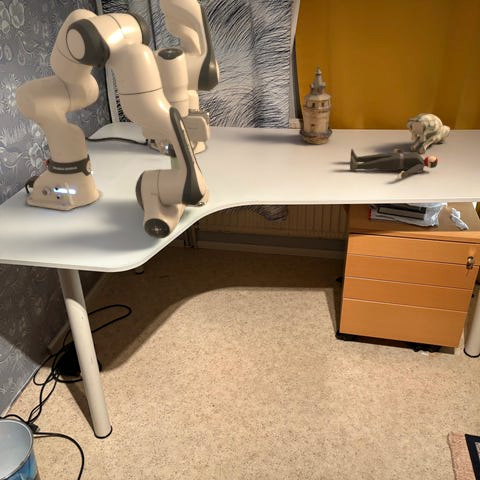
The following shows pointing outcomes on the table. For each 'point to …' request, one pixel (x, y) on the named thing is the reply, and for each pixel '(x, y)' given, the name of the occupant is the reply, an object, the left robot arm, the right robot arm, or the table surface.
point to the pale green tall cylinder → (174, 163)
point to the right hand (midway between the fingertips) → (177, 153)
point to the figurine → (427, 131)
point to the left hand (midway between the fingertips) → (180, 184)
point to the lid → (171, 151)
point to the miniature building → (316, 112)
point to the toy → (393, 162)
